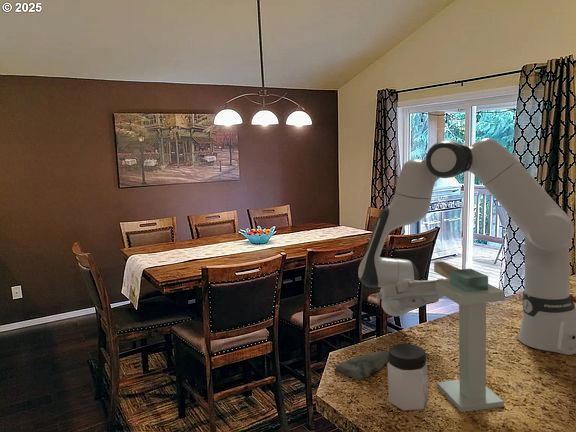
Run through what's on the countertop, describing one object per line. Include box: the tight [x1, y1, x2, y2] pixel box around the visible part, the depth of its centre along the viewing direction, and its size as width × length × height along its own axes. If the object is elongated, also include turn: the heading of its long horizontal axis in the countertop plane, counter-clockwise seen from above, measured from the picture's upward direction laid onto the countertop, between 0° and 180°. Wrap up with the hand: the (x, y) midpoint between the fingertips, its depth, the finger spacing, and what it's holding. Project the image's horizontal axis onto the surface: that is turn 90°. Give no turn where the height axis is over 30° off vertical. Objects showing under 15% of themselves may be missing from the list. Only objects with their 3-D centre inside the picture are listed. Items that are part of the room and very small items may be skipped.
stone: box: [334, 350, 389, 381], centre depth 120 cm, size 17×3×10 cm
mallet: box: [433, 260, 489, 292], centre depth 104 cm, size 5×18×3 cm, turn 8°
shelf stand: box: [436, 281, 506, 413], centre depth 101 cm, size 10×11×26 cm
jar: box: [387, 343, 429, 411], centre depth 102 cm, size 9×8×12 cm
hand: (425, 283), depth 122 cm, fingers open, 8 cm apart
